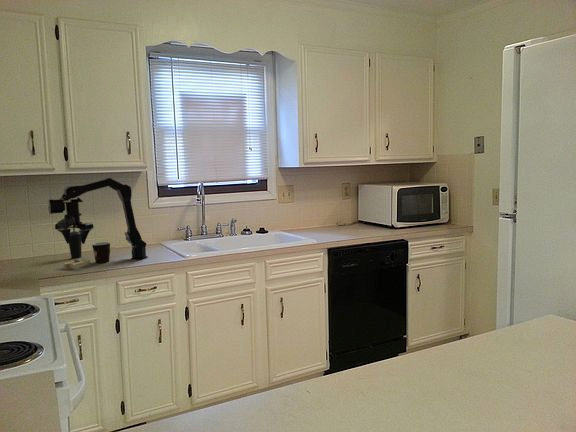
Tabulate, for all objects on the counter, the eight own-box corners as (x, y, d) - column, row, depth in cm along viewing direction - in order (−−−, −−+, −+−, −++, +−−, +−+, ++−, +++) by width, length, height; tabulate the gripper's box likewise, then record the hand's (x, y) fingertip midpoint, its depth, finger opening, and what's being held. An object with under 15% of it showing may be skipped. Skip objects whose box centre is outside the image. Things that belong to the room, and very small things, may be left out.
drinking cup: (69, 257, 260) (66, 221, 257) (84, 256, 262) (81, 220, 260) (68, 260, 253) (64, 223, 250) (83, 259, 255) (80, 222, 253)
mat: (100, 264, 239) (100, 263, 239) (77, 271, 224) (77, 271, 224) (77, 263, 244) (77, 262, 244) (53, 270, 229) (53, 269, 229)
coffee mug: (93, 262, 246) (91, 243, 245) (111, 260, 249) (109, 241, 248) (94, 266, 235) (92, 246, 234) (112, 264, 239) (111, 244, 238)
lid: (90, 264, 237) (89, 258, 237) (75, 269, 228) (75, 262, 228) (79, 264, 240) (78, 257, 239) (64, 268, 230) (63, 261, 230)
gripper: (44, 213, 226) (47, 246, 228) (76, 214, 220) (78, 247, 222) (62, 211, 237) (65, 242, 239) (92, 211, 231) (95, 243, 233)
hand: (75, 243), depth 233 cm, fingers open, 9 cm apart
